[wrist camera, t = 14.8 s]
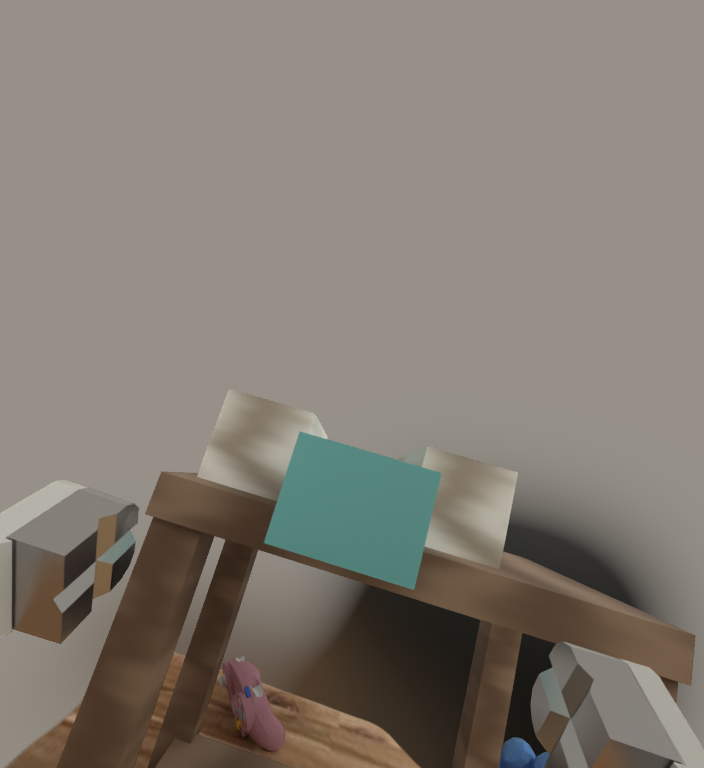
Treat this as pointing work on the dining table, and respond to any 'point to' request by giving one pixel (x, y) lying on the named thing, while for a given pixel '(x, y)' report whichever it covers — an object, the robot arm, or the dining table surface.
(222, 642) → the shelf
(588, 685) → the robot arm
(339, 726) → the dining table surface
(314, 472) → the module bar
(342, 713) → the dining table surface
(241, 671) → the video game controller
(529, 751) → the grapes
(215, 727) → the dining table surface
